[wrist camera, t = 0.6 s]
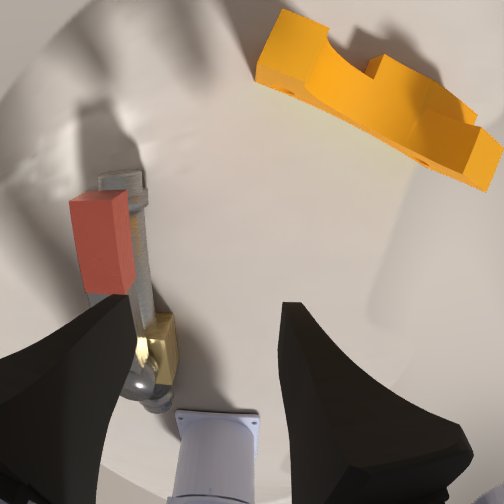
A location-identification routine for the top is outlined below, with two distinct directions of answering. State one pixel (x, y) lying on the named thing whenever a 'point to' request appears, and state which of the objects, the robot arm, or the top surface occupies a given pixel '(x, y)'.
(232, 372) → the top surface
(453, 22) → the top surface
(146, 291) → the cylinder
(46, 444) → the robot arm
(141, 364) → the lever
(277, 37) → the pipe clamp
